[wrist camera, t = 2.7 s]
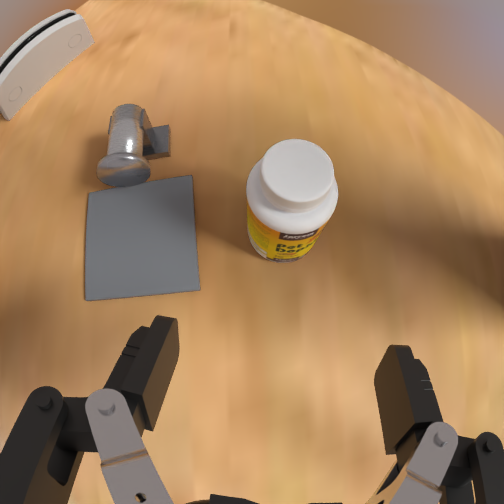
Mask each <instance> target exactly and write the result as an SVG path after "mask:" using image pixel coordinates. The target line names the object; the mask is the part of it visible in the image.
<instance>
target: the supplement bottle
mask: <svg viewBox="0 0 504 504" xmlns="http://www.w3.org/2000/svg"><path fill="white" fill-rule="evenodd" d="M246 198H247V226H248V236H249V239H250V242H251V244H252V246H253V247H254V249H255V250H256V251H257V252H258V253H259V254H260V255H261V256H263V257H264V258H266V259H268V260H270V261H273V262H278V263H288V262H293V261H296V260H298V259H300V258H302V257H303V256H304V255H306V254H307V253H308V252H309V251H310V249H311V248H312V247H313V245H314V243H315V242H316V240H317V239H318V237H319V235H320V234H321V232H322V230H323V229H324V227H325V226H326V224H327V222H328V221H329V219H330V217H331V216H332V214H333V212H334V210H335V207H336V205H337V200H338V187H337V183H336V180H335V177H334V168H333V164H332V161H331V159H330V158H329V156H328V155H327V153H326V152H325V151H324V150H323V149H321V148H320V147H319V146H317V145H316V144H314V143H312V142H309V141H306V140H302V139H288V140H284V141H281V142H278V143H276V144H274V145H273V146H272V147H270V148H269V149H268V150H267V152H266V153H265V155H264V157H263V158H262V159H260V160H259V161H258V162H257V163H256V164H255V166H254V167H253V168H252V170H251V172H250V174H249V177H248V180H247V186H246Z"/></svg>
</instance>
